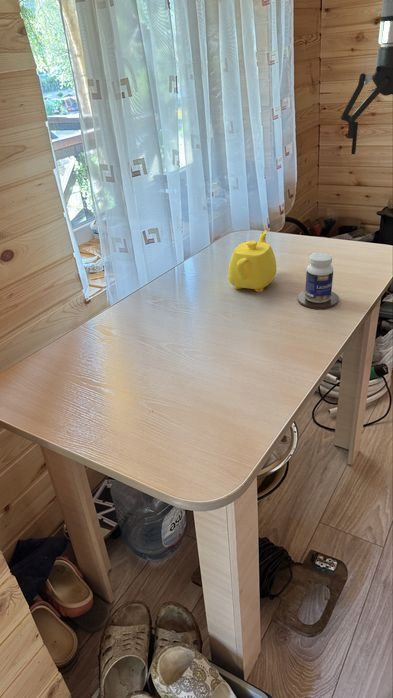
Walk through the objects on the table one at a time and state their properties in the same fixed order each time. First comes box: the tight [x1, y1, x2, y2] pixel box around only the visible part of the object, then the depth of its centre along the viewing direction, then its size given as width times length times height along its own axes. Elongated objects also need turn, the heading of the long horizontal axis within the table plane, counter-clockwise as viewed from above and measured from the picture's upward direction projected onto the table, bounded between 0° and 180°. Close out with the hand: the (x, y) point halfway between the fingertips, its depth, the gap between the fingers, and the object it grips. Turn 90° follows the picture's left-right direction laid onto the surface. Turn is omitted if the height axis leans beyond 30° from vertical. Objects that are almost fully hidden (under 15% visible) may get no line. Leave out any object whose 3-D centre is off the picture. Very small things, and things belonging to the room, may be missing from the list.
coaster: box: [297, 290, 340, 310], centre depth 116 cm, size 9×9×1 cm
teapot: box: [227, 230, 277, 293], centre depth 123 cm, size 18×11×11 cm, turn 154°
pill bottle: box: [304, 252, 334, 303], centre depth 113 cm, size 6×6×10 cm
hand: (384, 153), depth 117 cm, fingers open, 13 cm apart
